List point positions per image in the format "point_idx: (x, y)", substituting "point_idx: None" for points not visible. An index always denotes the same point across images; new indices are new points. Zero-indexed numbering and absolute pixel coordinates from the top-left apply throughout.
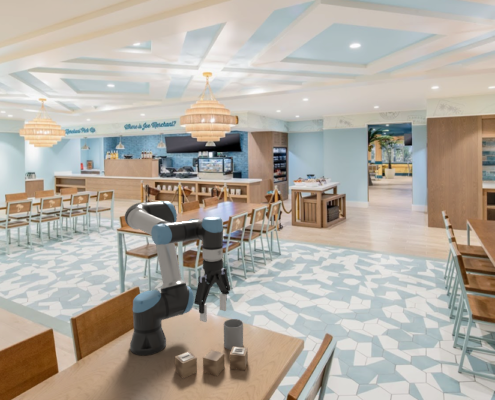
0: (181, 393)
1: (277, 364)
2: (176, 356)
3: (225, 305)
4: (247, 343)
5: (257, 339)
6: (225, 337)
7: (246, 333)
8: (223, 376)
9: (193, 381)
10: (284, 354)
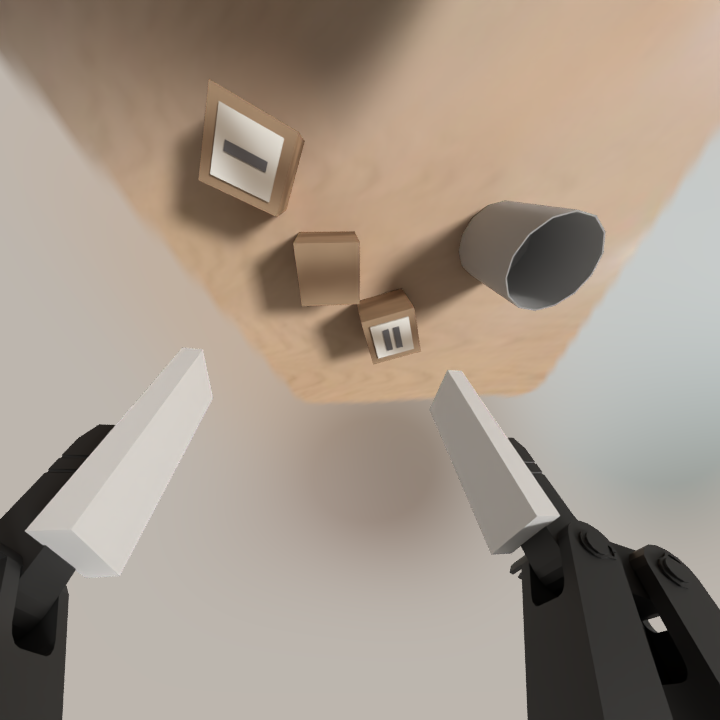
0: (165, 231)
1: (419, 388)
2: (216, 89)
3: (449, 445)
4: None
5: None
6: (490, 230)
7: None
8: None
9: (238, 231)
10: None
